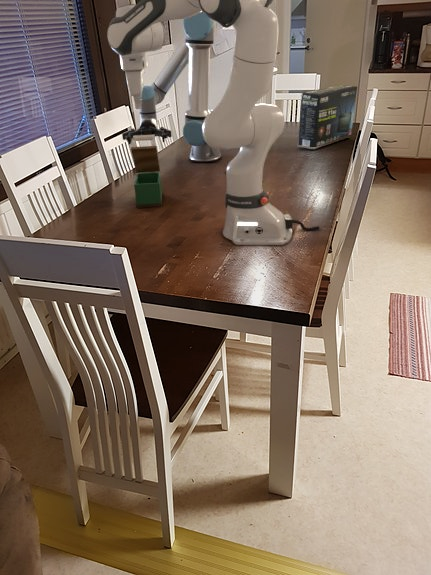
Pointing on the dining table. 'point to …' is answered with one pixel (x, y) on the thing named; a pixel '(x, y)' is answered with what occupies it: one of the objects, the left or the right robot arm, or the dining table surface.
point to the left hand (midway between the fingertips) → (146, 139)
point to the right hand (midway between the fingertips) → (139, 106)
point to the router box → (326, 115)
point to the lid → (145, 155)
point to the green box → (148, 189)
